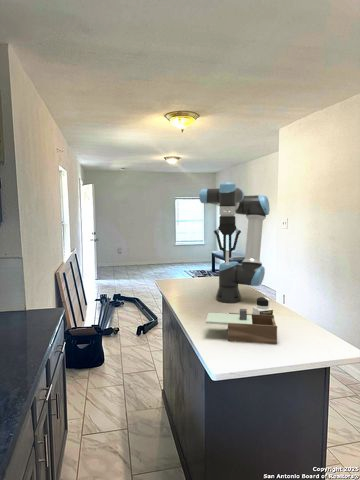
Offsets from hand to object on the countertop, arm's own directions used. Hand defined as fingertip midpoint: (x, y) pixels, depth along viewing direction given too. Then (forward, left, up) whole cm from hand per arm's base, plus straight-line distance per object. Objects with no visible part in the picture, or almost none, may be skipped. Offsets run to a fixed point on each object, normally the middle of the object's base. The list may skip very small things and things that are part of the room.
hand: (227, 264), depth 155 cm
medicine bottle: (-4, +17, -29) cm, 34 cm away
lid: (+15, +2, -22) cm, 27 cm away
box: (+15, +11, -29) cm, 34 cm away
